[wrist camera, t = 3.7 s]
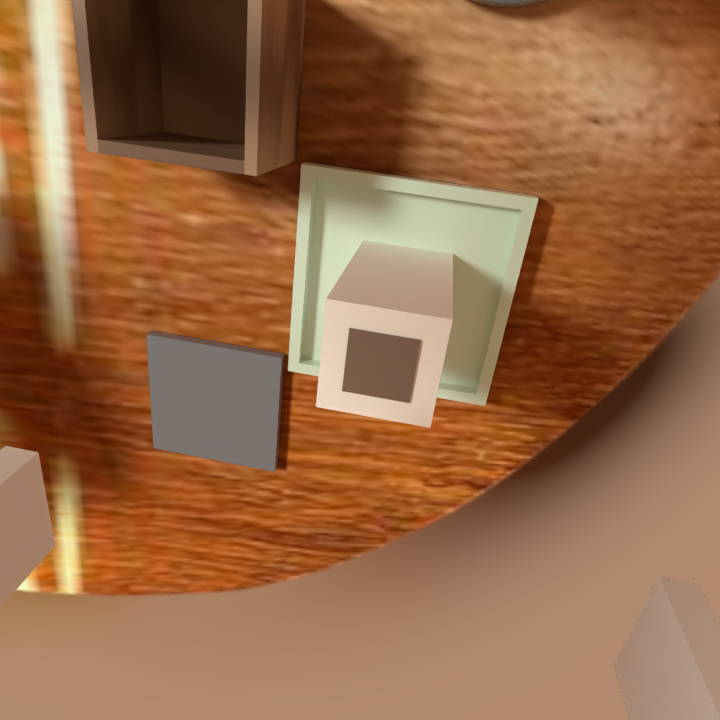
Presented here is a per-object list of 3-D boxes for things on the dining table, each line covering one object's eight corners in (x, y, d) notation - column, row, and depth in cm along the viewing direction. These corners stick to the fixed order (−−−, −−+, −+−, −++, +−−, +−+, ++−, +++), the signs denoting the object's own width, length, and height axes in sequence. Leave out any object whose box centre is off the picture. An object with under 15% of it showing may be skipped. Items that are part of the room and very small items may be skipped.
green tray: (306, 161, 26) (301, 164, 26) (535, 195, 25) (538, 198, 25) (292, 363, 31) (287, 370, 30) (484, 396, 30) (485, 406, 29)
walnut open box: (151, -30, 24) (65, -67, 19) (306, -12, 23) (263, -45, 18) (159, 140, 27) (86, 151, 22) (296, 160, 26) (256, 176, 21)
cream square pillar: (363, 239, 27) (325, 299, 19) (454, 254, 27) (455, 320, 19) (353, 323, 29) (315, 409, 21) (438, 338, 29) (432, 431, 21)
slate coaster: (151, 330, 32) (146, 334, 31) (284, 353, 31) (281, 358, 31) (158, 442, 35) (153, 448, 35) (277, 466, 35) (275, 471, 34)
